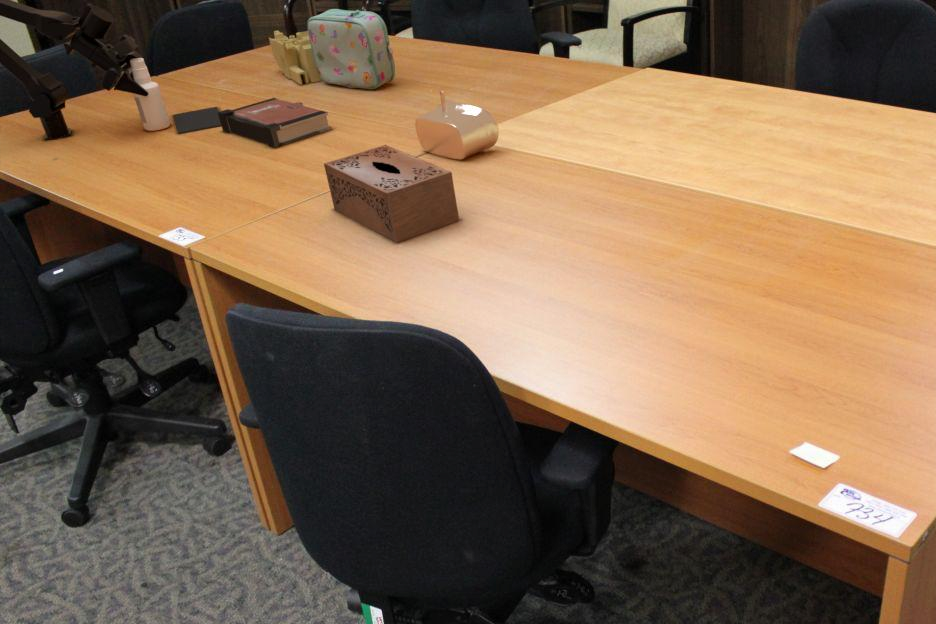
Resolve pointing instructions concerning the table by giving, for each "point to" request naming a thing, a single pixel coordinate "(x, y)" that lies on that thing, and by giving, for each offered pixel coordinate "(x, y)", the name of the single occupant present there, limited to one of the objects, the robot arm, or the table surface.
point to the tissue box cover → (392, 192)
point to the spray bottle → (149, 98)
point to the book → (274, 122)
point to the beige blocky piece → (295, 57)
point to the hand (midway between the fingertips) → (151, 91)
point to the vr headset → (456, 130)
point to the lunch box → (351, 48)
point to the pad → (197, 120)
